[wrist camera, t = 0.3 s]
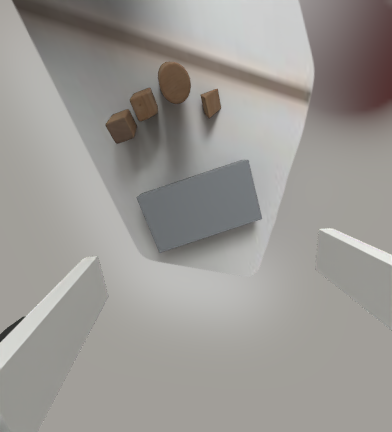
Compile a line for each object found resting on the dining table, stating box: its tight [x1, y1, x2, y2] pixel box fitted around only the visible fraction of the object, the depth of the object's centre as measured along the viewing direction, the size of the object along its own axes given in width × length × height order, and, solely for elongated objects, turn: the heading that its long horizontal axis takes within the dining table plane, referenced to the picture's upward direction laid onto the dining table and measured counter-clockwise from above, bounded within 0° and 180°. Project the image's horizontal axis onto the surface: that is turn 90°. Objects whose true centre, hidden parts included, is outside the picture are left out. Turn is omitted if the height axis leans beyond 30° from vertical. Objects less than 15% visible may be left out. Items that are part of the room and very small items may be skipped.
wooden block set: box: [106, 62, 221, 144], centre depth 29 cm, size 18×9×10 cm, turn 109°
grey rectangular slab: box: [137, 160, 262, 253], centre depth 36 cm, size 11×20×4 cm, turn 108°
